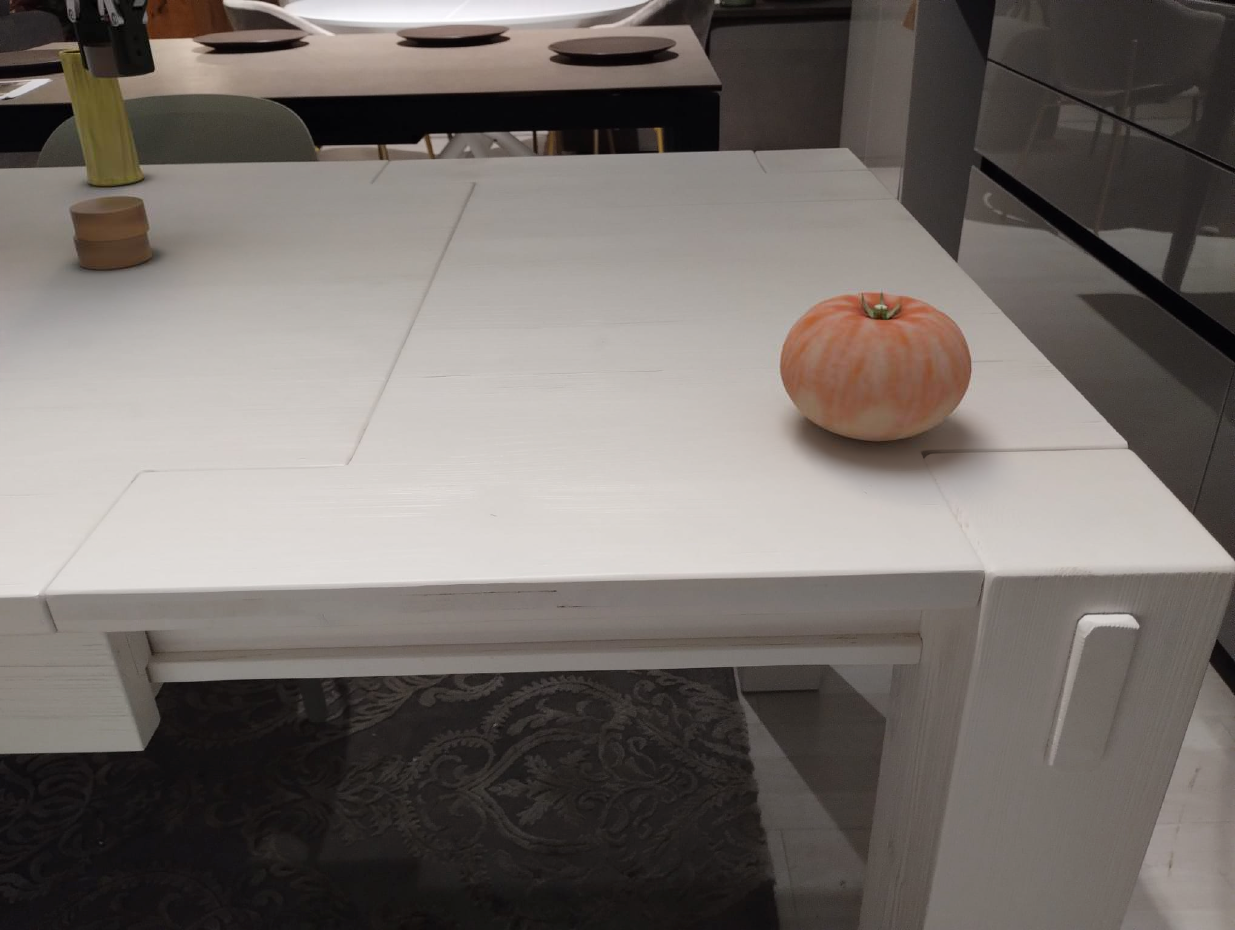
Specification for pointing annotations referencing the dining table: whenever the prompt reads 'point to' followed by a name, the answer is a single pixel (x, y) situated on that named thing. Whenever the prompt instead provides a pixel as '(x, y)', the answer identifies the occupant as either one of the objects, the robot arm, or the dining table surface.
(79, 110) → the vase
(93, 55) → the walnut chip
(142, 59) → the robot arm
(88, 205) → the pile chip top
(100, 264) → the pile chip bottom
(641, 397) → the dining table surface
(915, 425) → the tomato
